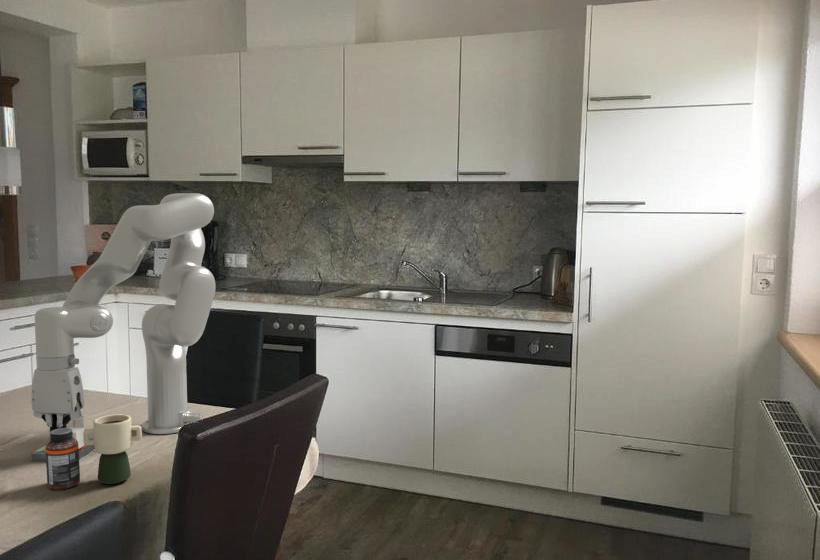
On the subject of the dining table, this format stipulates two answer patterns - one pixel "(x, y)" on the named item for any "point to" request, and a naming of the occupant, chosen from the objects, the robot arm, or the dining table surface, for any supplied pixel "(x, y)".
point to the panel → (84, 450)
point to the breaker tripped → (78, 435)
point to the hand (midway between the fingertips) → (58, 442)
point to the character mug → (113, 446)
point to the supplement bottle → (62, 460)
